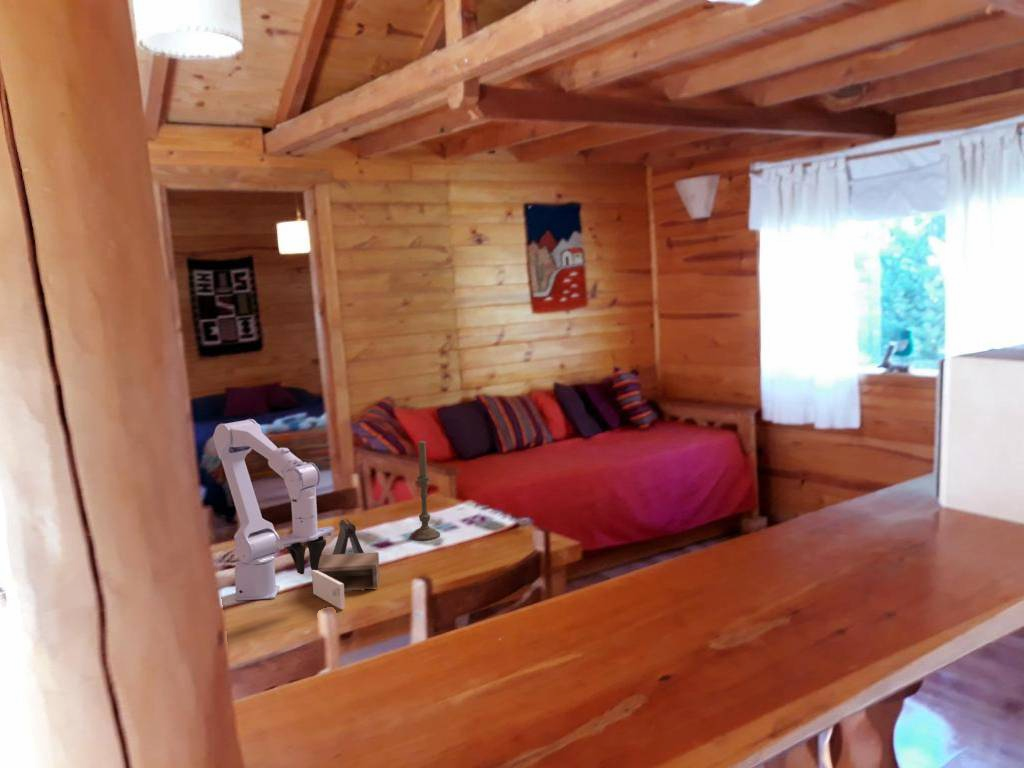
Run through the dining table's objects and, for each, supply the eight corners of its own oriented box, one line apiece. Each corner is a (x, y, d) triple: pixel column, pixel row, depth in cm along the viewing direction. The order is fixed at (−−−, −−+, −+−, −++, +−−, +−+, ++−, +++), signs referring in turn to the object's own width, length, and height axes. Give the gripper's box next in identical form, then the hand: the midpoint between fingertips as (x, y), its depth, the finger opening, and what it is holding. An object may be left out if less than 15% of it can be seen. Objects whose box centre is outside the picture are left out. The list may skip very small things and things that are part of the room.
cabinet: (313, 593, 211) (311, 568, 210) (318, 579, 221) (316, 555, 220) (377, 589, 212) (376, 564, 212) (379, 576, 222) (378, 552, 222)
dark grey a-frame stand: (362, 558, 237) (360, 516, 236) (368, 564, 232) (366, 521, 231) (330, 563, 234) (328, 521, 232) (335, 569, 228) (333, 526, 227)
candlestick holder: (407, 533, 260) (404, 438, 256) (436, 530, 262) (433, 435, 259) (413, 542, 251) (409, 443, 247) (443, 538, 254) (440, 440, 250)
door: (309, 594, 209) (307, 571, 208) (316, 592, 210) (315, 569, 210) (337, 610, 198) (335, 586, 198) (344, 608, 200) (343, 583, 199)
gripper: (285, 525, 190) (288, 583, 192) (340, 512, 200) (343, 567, 202) (270, 519, 195) (273, 576, 197) (324, 506, 205) (326, 560, 207)
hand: (307, 571), depth 199 cm, fingers open, 3 cm apart
